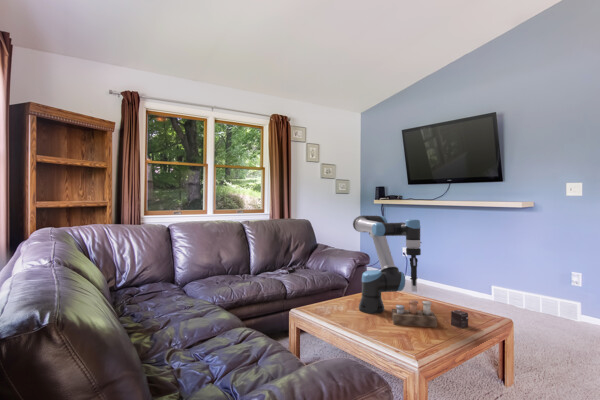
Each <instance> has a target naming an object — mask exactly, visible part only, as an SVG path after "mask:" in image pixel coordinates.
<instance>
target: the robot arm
mask: <svg viewBox="0 0 600 400" xmlns="http://www.w3.org/2000/svg"><path fill="white" fill-rule="evenodd" d="M352 227H353V229H354V230H355V231H356V232H358V233H368V235H369V238H370V237H371V238H372V240H373V244H374V248H375V251H376V254H377V258H378V262H379V265H380V268H381V269H380V270H378V269H375V270H374V269H370V270H366V271H364V272H363V273H362V275H361V298H360V301H359V304H358V310H359V311H360V312H361V313H366V314H373V315H374V314H377V315H378V314H383V313H384V312H385V305H384V301H383V299H382V293H391V292H392V293H395V292H397V293H398V292H401V291H403V290H404V288H405V285H406V276H405V273H403V272H402V271H400V269H399V267H398V266H396V265H395V262H394V258H393V256H392V252H391V250H390V249H391V248H390V246H389V243H388V240H387V237H394V236H395V237H403V236H404V237H405V247H406V248H405V251H406V252H405V254H406V255H407V256H410V257H409V266H410V278H409V280H411V281H410V284H411V287H410V288H411V292H414V293H415V292H416V293H417V291H418V290H417V289H418V287H417V286H418V283H417V282H418V281H417V280H418V275H417V274H418V269H417V268H418V262H419V261H418V258H417V256H421V255H422V253H421V252H422V249H421V244H423V243H422V241H421V222H420V220H419V219H406V220H405V222H388V220H387V218H386V217H385V216H383V215H379V214H375V215H365V214H364V215H359V216H356V217H355V218H354V219H353V221H352Z"/></svg>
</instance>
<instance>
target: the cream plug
mask: <svg viewBox="0 0 600 400" xmlns="http://www.w3.org/2000/svg"><path fill="white" fill-rule="evenodd" d="M421 302H422V306H423V308H422V311H423V315H430V311H431V305H432V301H431V300H422V301H421Z"/></svg>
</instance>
